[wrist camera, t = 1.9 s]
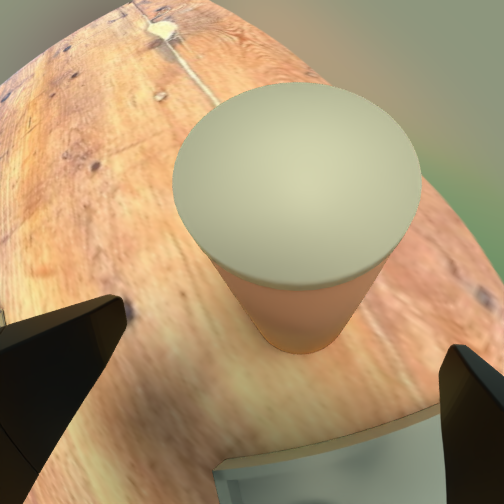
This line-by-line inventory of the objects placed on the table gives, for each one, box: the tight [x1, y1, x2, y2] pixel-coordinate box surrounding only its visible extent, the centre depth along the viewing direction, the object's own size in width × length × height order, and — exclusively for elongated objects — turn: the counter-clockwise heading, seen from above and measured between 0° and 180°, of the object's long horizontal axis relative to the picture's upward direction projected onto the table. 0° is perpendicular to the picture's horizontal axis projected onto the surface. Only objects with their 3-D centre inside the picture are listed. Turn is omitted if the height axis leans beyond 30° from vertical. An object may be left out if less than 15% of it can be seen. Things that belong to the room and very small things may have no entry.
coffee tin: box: [172, 82, 422, 354], centre depth 13 cm, size 6×6×13 cm
